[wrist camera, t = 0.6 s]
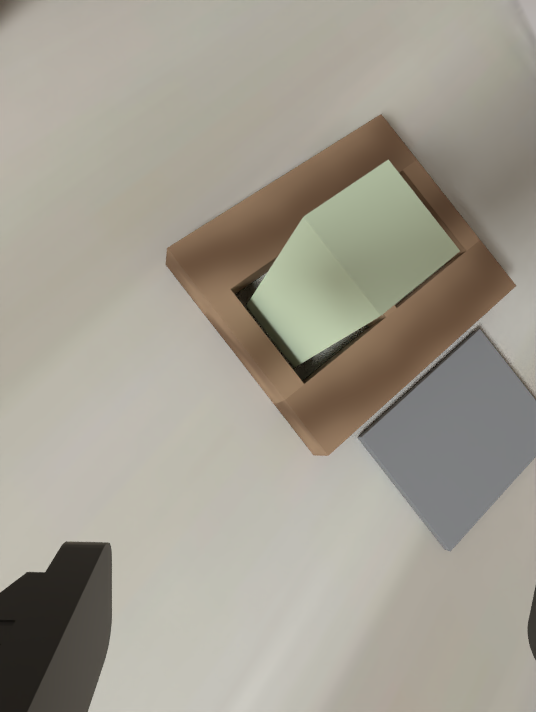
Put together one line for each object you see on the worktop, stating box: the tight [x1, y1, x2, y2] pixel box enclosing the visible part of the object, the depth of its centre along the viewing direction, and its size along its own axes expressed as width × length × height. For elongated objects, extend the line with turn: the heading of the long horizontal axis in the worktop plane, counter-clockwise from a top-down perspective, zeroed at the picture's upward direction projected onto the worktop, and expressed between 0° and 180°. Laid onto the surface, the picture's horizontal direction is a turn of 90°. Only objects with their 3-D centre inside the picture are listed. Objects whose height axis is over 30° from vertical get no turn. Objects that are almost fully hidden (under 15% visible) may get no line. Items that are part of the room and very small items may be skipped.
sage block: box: [246, 160, 460, 368], centre depth 25 cm, size 5×5×12 cm
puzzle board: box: [166, 115, 516, 456], centre depth 31 cm, size 15×18×2 cm
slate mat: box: [358, 329, 536, 551], centre depth 32 cm, size 9×12×1 cm
